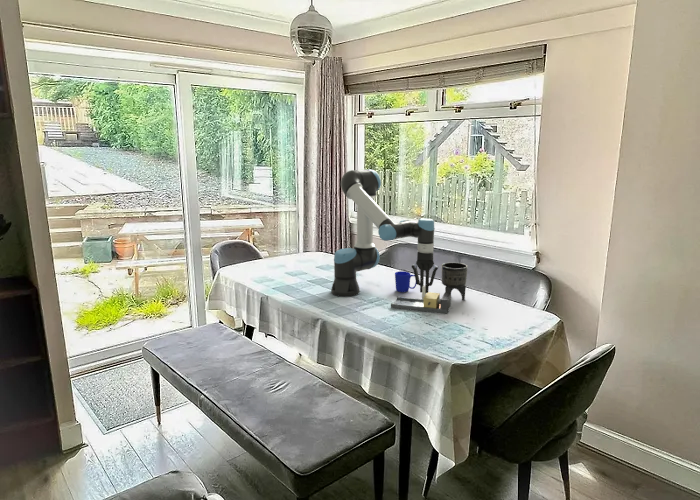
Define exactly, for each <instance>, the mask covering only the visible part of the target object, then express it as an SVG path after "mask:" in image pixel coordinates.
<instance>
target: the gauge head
mask: <svg viewBox="0 0 700 500" xmlns="http://www.w3.org/2000/svg"><path fill="white" fill-rule="evenodd" d="M440 294H441V293H440V292H431V291H428V293H426V295H425V297H424V304H423V307H429V308H437V307H438V305H439V304H440V303H441V297H440V296H441V295H440Z"/></svg>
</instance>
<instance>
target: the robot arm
mask: <svg viewBox="0 0 700 500" xmlns="http://www.w3.org/2000/svg"><path fill="white" fill-rule="evenodd" d="M381 186H382V180H381V176H380V175H379V174H378V172H377V171H376V170H374V169H354V170H348V171H346V172H345V173H344V174H343V175H342V177H341V179H340V188H341V191H342V193H343V194H344V196H345V197H346V198H347V199H349V200H352V201H353V202H354V204H355V205H356V207H357V208H356V242H355V244H354V245H353V248H352V247H346V248H340V249H338V250H336V251H335V252H334V255H333V257H334V258H333V262H334V265H333V266H334V275H333V276H334V279H333V283H332V286H331V289H330V290H331V292H330V293H331V294H332V295H333V296H336V297H345V298H347V297H349V298H350V297H354V296H358V295H359V294H360V285H359V282H358V279H357V272H361V271H365V270H370V269H374V268H375V267H376V266H378V264H379V262H380V258H381V255H380V252H379V250H378V248H377V247H376V244H375V243H374V242H373V238H374V237H373V236H374V235H373V233H374V232H373V231H374V226H375V227H376V228H377V229H378V230H377V231H378V232H377V233H378V236H379V238H380V240H382V241H385V242H387V241H388V242H389V241H394V240H397V239H404V238H409V237H410V238H417V253H416V256H417V258H416V261H415V263H413V264H412V265H411V269H412V270H413V275H415V276H414V278H415V283H416V286H417V285H418V286H419V291H420V293H421V299H422V300H424V297H425V295H426V294H427V293H428V292H429V289H430V288H429V287H431V286H432V285H433V283H434V280H435V277H436V273H437V271H438V269H439V266H438V265H436V264H435V262H434V251H435V250H434V245H435V243H434V242H435V241H434V238H435V220H434V219H432V218H425V217H423V218H419V219H418V221H413V220H409V219H407V220H406V219H402V220H400V221H399V222H394V221H393V220H392V219H391V218H390V217H389V215H388V214H387V213H386V212H385V211H384V210H383V209H382V208H381V206H379V205H378V204H377V203H376V201H375V200H374V199H375V197H376V196H377V191H379V190H380V188H381ZM418 269H419V271H418ZM431 269H432V270H433V271H432V273H431V277H430V271H431ZM418 272H419V273H420V275H419V273H418ZM424 276H425V277H424ZM424 279H425V280H424ZM424 282H425V283H424Z"/></svg>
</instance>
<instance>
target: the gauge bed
mask: <svg viewBox="0 0 700 500" xmlns="http://www.w3.org/2000/svg"><path fill="white" fill-rule="evenodd" d="M423 304H424V300H422V298H415V297H405V296H404V297H403V296H396V299H395V301H394V302H393V303H390V309H396V310H404V311H413V312H419V313H421V312H423V313H429V314H430V313H431V314H439V315H440V314H441V315H448V313H449V311H450V308H451V307H452V306H451V305H452V304H451V305H450V307H449V309H448V311H447V310H446V311H445V310H443V311H442V309H441V303H440V304H439V305H438V307H437V308H429V307H423ZM440 310H441V311H442V312H441V311H440Z"/></svg>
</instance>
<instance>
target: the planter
mask: <svg viewBox="0 0 700 500" xmlns="http://www.w3.org/2000/svg"><path fill="white" fill-rule="evenodd" d="M468 268H469V267H468V265H467V264H465V263H461V262H453V261H451V262H445V263H442V264H441V284H442V286H445V289H444V290H445V291H444V293H445V292H449V293H451V294H452V291H453V290H454V289H455V290H457V292H459V293H460V295H461V301H465V299H466V289H467V288H466V287H467V279H468V278H467V277H468Z"/></svg>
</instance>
